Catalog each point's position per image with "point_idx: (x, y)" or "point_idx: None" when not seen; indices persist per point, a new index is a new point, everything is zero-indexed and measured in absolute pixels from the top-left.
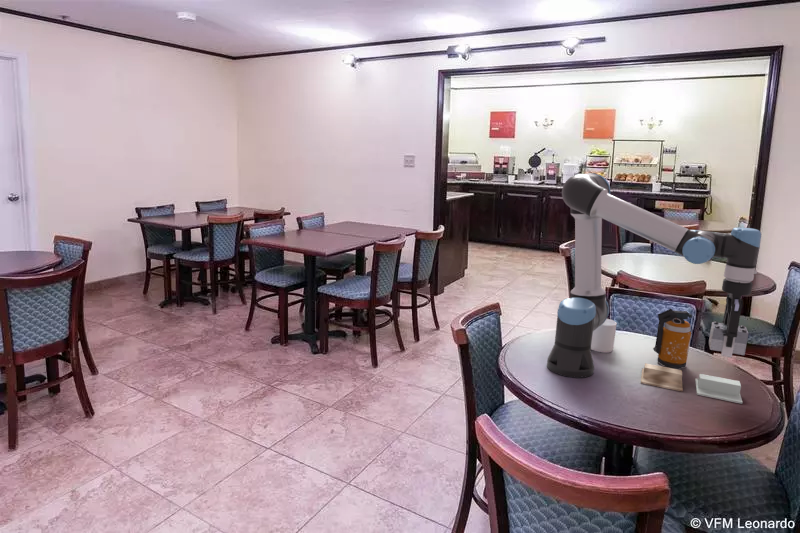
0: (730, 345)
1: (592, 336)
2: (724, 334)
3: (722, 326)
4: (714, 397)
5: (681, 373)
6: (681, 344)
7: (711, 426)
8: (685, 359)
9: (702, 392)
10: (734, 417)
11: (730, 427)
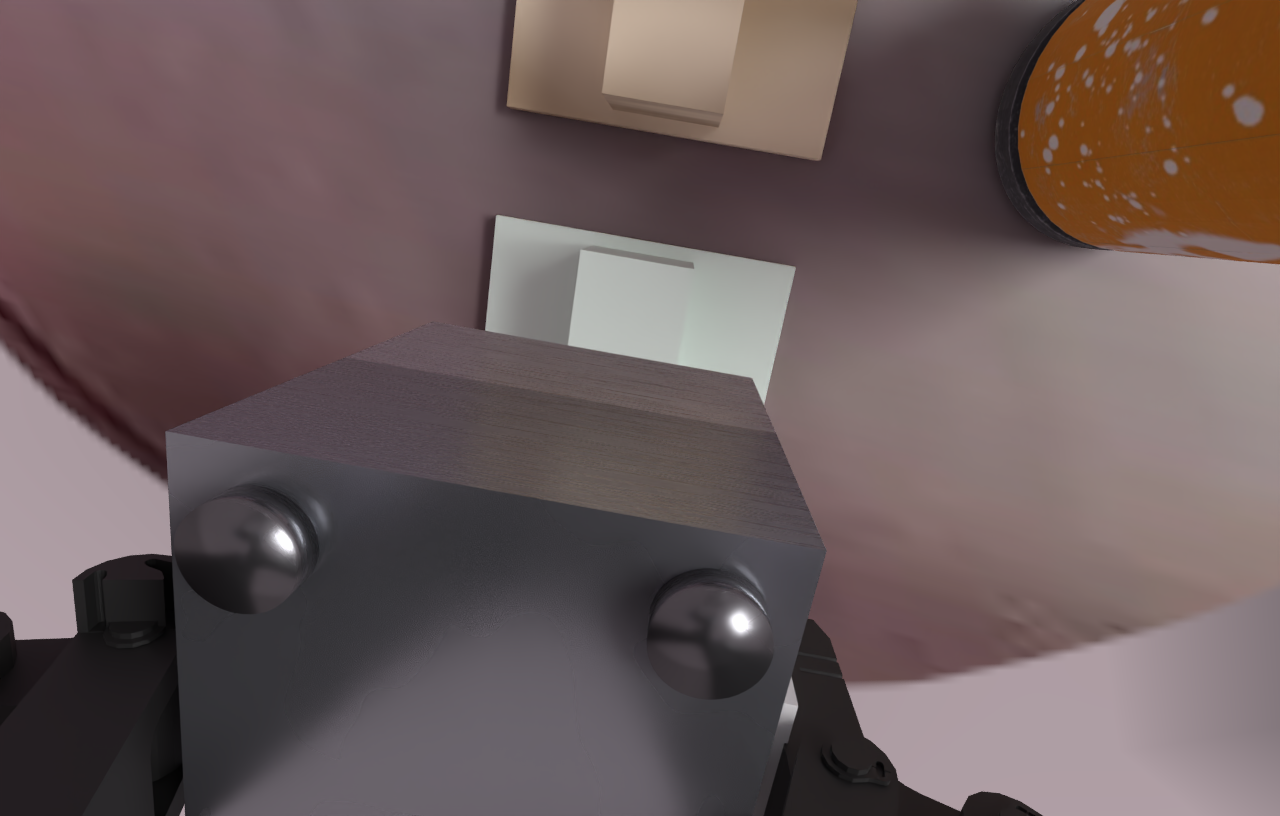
0: None
1: None
2: (91, 588)
3: (448, 698)
4: (487, 329)
5: (633, 91)
6: (1162, 123)
7: (21, 197)
8: (1071, 221)
9: (521, 258)
10: (239, 378)
11: (79, 314)
